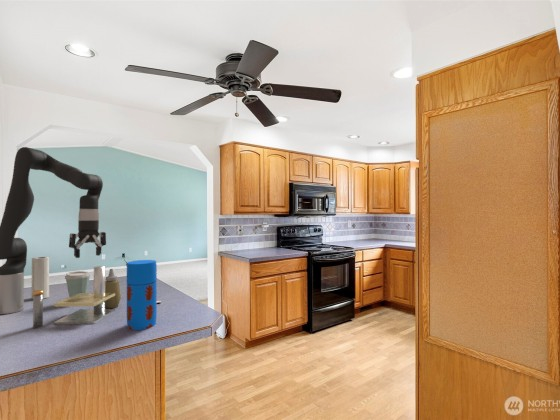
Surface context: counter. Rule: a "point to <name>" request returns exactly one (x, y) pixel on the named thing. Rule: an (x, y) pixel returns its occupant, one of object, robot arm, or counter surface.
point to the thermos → (141, 294)
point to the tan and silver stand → (88, 302)
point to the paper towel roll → (40, 275)
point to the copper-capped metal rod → (38, 308)
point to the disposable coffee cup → (77, 282)
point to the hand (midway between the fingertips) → (88, 256)
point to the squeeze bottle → (112, 290)
